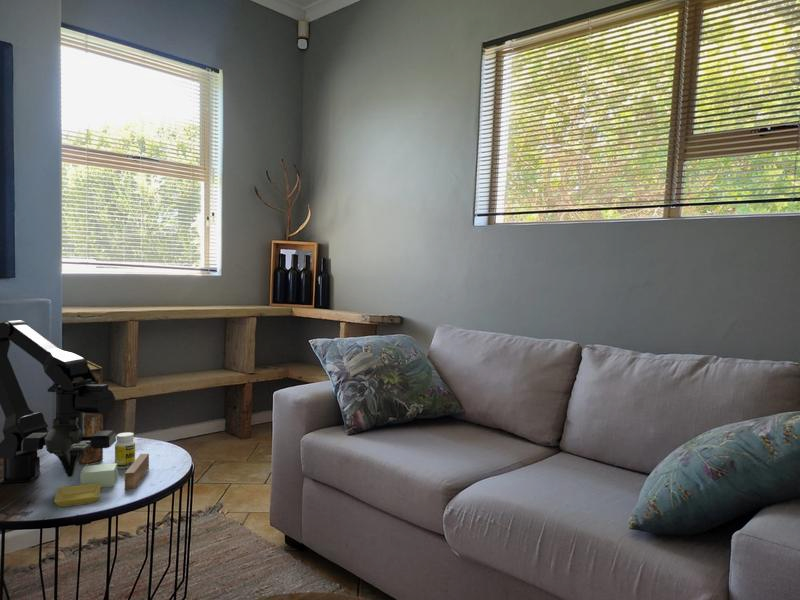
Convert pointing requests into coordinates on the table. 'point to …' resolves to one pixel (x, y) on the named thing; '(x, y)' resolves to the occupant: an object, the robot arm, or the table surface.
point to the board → (136, 471)
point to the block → (99, 474)
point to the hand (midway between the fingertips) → (70, 476)
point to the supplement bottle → (125, 450)
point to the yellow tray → (77, 494)
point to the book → (92, 424)
